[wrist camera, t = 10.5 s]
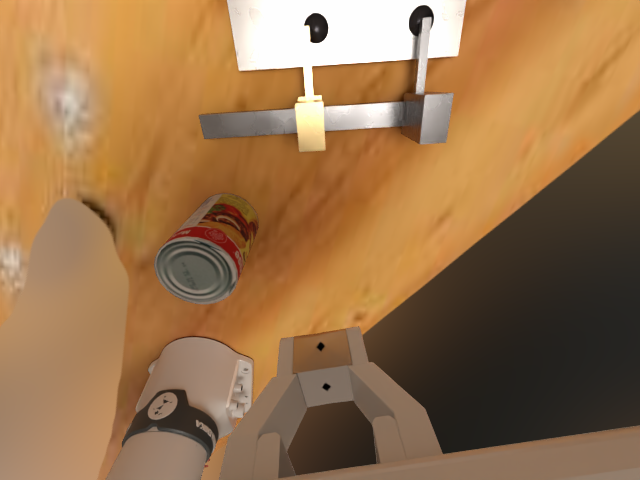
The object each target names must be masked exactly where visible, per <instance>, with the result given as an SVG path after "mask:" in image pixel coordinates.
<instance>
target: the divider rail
mask: <svg viewBox="0 0 640 480" xmlns="http://www.w3.org/2000/svg"><path fill="white" fill-rule="evenodd" d="M431 21H432V17H426V18H422V19H420V25H419V36H418V48H417V59H416V70H415V81H414V92H413V93H404V101H392V102H377V103H362V104H347V105H332V106H323V111H324V131H334V130H349V129H365V128H380V127H396V126H402V129H401V134H402V135H404V136H406V137H408V138H410V139H411V140H413V141H415V142H417V143H418V144H431V143H446V140H447V133H448V127H449V120H450V114H451V107H452V100H453V94H454V93H441V92H424V87H425V77H426V68H427V59H428V49H429V40H430V30H431ZM199 119H200V123H201V127H202V131H203V135H204V139H211V138H226V137H242V136H257V135H272V134H288V133H298V132H297V121H296V110H295V108H287V109H272V110H256V111H241V112H226V113H211V114H202V115H199Z"/></svg>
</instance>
